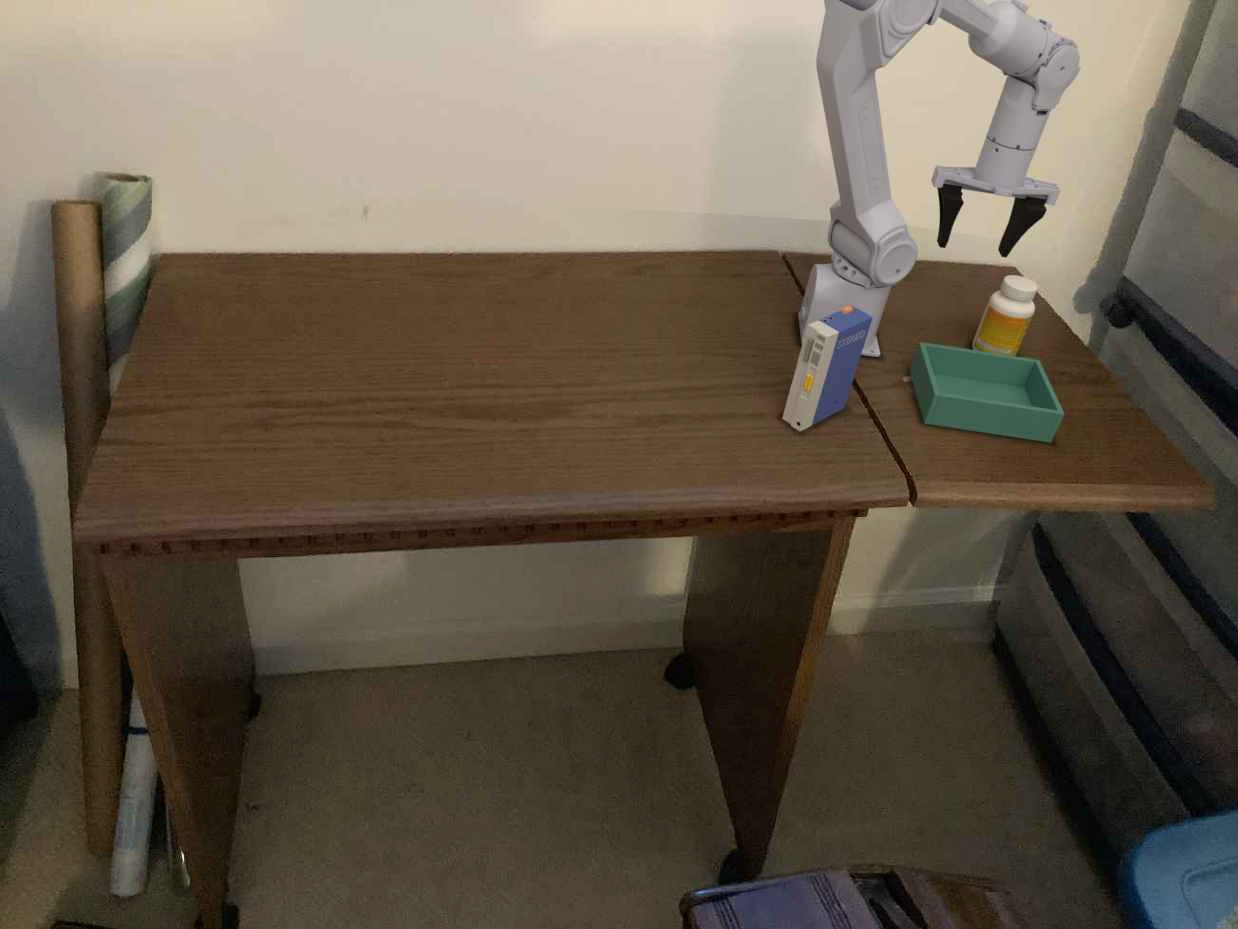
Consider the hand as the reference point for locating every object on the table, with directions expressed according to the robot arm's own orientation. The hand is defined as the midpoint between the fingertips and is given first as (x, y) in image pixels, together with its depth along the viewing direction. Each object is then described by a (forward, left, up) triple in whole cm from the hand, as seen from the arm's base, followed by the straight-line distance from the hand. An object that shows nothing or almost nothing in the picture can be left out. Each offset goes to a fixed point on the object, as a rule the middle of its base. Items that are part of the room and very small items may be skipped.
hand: (971, 249), depth 124 cm
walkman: (-19, -26, -11) cm, 34 cm away
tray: (+1, -19, -10) cm, 22 cm away
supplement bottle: (+5, -6, -11) cm, 13 cm away
